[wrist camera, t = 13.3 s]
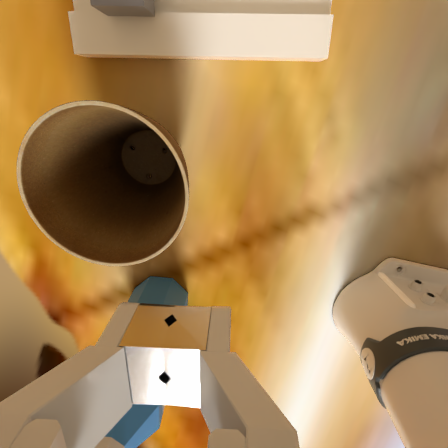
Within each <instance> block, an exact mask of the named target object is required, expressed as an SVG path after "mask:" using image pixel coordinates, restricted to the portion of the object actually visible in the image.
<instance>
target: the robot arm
mask: <svg viewBox="0 0 448 448" xmlns="http://www.w3.org/2000/svg"><path fill="white" fill-rule="evenodd" d="M398 267H400V268H399V269H397V268H398ZM333 320H334V324H335V326H336V328H337V329H338V331H339V332H340V333H341V334H342V335H343V336H344V337H345V338H346V339H347V340H348V342H349V343H350V344H351V345H352V347H353V348H354V350H355V351H356V353H357V354H358V356H359V357H360V359H361V362H362V365H363V368H364V371H365V373H366V375H367V377H368V380H369V382H370V384H371V386H372V388H373V390H374V392H375V394H376V396H377V398H378V400H379V402H380V403H381V405H382V406H383V407H384V408H385V409H387V411H388V413H389V415H390V417H391V419H392V421H393V423H394V425H395V428H396V430H397V432H398V434H399V436H400V438H401V440H402V442H403V444H404V446H405V448H448V270H447V269H443V268H438V267H433V266H429V265H424V264H420V263H415V262H410V261H406V260H401V259H397V258H388V259H386V260H384V261H383V262H381V263H380V264H379V265H378V266H377V267H376V268H375V269H374V270H373V271H371V272H370V273H368V274H366V275H364V276H362V277H359V278H358V279H356V280H354V281H353V282H351V283H350V284H349V285H347V286H346V287H345V288H344V289H343V290H342V292H341V293H340V294H339V296H338V297H337V299H336V301H335V304H334V307H333ZM230 327H231V308H230V306H212V307H203V306H176V305H164V304H148V303H129V302H122V303H121V304H119V305H118V307H117V309H116V311H115V312H114V314H113V316H112V318H111V319H110V321H109V323H108V324H107V326H106V328H105V330H104V331H103V333H102V335H101V337H100V338H99V340H98V342H97V343H96V345H95V346H88V347H86V348H85V349H83V350H82V351H80V352H79V353H77V354H75V355H74V356H72V357H71V358H69V359H68V360H66V361H64V362H63V363H61V364H60V365H58V366H57V367H55V368H53V369H52V370H50V371H49V372H47V373H46V374H44V375H42V376H41V377H39V378H38V379H36V380H35V381H33V382H32V383H30V384H28V385H27V386H25V387H24V388H22V389H21V390H19V391H17V392H16V393H14V394H13V395H11V396H10V397H8V398H6V399H5V400H3V401H2V402H0V448H94V447H95V446H96V445H97V444H98V443H99V442H100V441H101V440H102V439H103V438H104V437H105V435H106V434H107V433H108V432H109V431H110V430H111V429H112V428H113V427H114V426H115V425H116V423H117V422H118V421H119V420H120V419H121V418H122V417H123V416H124V415H125V414H126V413H127V411H128V410H129V409H130V408H131V407H132V404H148V405H174V406H186V407H198V408H200V410H201V412H202V414H203V416H204V419H205V421H206V423H207V426H208V428H209V430H210V432H211V434H210V435H209V440H208V448H300V447H299V442H298V436H297V431H296V430H295V429H294V427H293V426H292V425H291V423H290V422H289V421H288V420H287V418H286V417H285V416H284V414H283V413H282V412H281V410H280V409H279V408H278V407H277V405H276V404H275V403H274V401H273V400H272V399H271V398H270V396H269V395H268V394H267V392H266V391H265V390H264V389H263V387H262V386H261V385H260V383H259V382H258V381H257V379H256V378H255V377H254V376H253V374H252V373H251V372H250V370H249V369H248V368H247V367H246V365H245V364H244V363H243V361H242V360H241V359H240V358H239V356H238V355H237V354H236V353H235V352H230Z"/></svg>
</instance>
